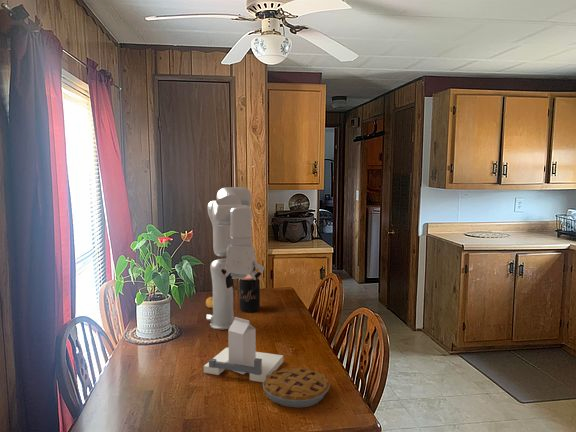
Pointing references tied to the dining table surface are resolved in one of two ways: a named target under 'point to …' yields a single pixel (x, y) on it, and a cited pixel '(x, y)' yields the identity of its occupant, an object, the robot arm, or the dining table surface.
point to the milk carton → (242, 343)
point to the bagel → (209, 302)
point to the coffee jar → (249, 295)
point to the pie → (296, 387)
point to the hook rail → (238, 366)
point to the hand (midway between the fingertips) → (241, 288)
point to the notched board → (268, 366)
